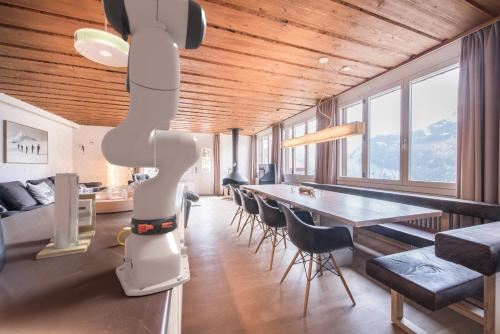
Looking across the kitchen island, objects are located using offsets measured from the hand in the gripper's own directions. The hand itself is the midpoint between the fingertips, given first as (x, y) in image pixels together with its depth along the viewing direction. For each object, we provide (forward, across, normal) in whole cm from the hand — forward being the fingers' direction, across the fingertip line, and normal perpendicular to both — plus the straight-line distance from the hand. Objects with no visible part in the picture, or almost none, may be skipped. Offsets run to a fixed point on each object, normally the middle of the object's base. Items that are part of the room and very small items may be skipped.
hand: (161, 143), depth 94 cm
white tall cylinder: (+38, +6, -31) cm, 49 cm away
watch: (+39, +10, -13) cm, 43 cm away
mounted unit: (+39, -9, -31) cm, 51 cm away
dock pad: (+39, +6, -31) cm, 50 cm away
